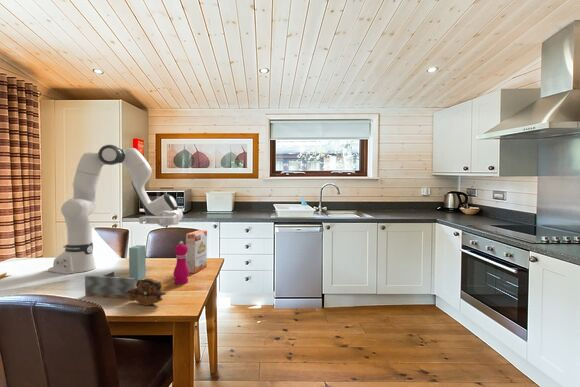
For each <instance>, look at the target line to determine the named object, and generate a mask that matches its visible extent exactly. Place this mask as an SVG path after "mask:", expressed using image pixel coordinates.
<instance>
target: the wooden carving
mask: <svg viewBox="0 0 580 387" xmlns="http://www.w3.org/2000/svg"><path fill="white" fill-rule="evenodd" d="M136 286H137V288H133V289H131V290H129V291H127V293H128V296H129V298H130V299H129V301H130V302H135V301H136V302H137V303H138V304H140V305H142V306H144V305H145V306H149V305H153V304H157V303H160V302H161V301H163V300H164V299H163V298H162V296H165V295H167V293H166V292H165V291H162V283H161V281H158V280H157V279H154V278H151V277H150V278H149V277H148V278H145V279H144V278H143V279H140V280H138V281H137V284H136Z"/></svg>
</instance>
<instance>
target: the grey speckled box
mask: <svg viewBox="0 0 580 387" xmlns="http://www.w3.org/2000/svg"><path fill="white" fill-rule="evenodd" d="M136 284H137V281H135V278H129V277H121V276H115V271H112V272H110V273H106V274H104V275H85V276H84V292H85V294H84V296H85V297H90V298H91V297H92V298H93V297H94V298H105V299H107V298H108V299H122V300H130V298H129V296H128V293H127V291H129V290H131V289H133V288H137V286H136Z"/></svg>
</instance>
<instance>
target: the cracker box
mask: <svg viewBox="0 0 580 387" xmlns="http://www.w3.org/2000/svg"><path fill="white" fill-rule="evenodd" d="M185 245H186V246H187V248H188V251H187V253H186V254H187V255H186V256H187V257H186V264H187V267H188V269H189V274H196V273H198V272H200V271H202V270H204V269H205V268H207V266H208V265H207V260H208V259H207V258H208V254H207V253H208V252H207V251H208V230H201V229H199V230H195V231H192V232H188V233H186V234H185Z"/></svg>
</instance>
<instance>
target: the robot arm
mask: <svg viewBox="0 0 580 387" xmlns="http://www.w3.org/2000/svg"><path fill="white" fill-rule="evenodd" d="M117 164H122V165H124V167H125V168H126V169H127V170H128V172H129V174H130V175H131V179H132V180H131V186H132V189H133V190H134V193H135V194H136V195H137V197H138V200H139V202H140V204H141V205H142V208H143V211H144V213H145V216H140V217H139V218H138V220H139V221H138V222H139V224H140V225H142V224H143V225H144V224H145V225H158V226H159V227H169V226H175V225H177V226H178V224H179V222H181V220H182V219H183V216H184V213H183V210H181V209H180V208H179V206H178V202H177V200H176V198H175V197H174V196H172V195H171V194H168V193H165V194H163V195H161V196H159V197H158V198H155V199H154V200H151V199H150V197H149V195H148V193H147V191H146V189H145V185H146V184H147V182H148V181H149V179H150V178H151V175H152V173H153V172H152V171H153V170H152V167H151V165H150V163H149V162H148V161H147V160H146V158H145V156H144V155H143V154H142V153H141V152H140V151H139V150H138V149H137V148H134V147H128V148H125V149H122V148H119V146H116V145H114V144H106V145H103V146H101V147H100V148H99V150H98V152H84V153H83V154H82V155H81V157H80V159H79V161H78V163H77V166H76V171H75V174H74V178H73V182H72V189H73V196H72V198H69V199H67V200H66V201H64V202H63V204H62V205H61V207H60V211H61V215H63V217H64V222H65V226H66V230H67V244H65V245H64V246H63V247H62V248H63V249H64V248H65V249H64V251H63V252H62V253H61V254H59V255H58V256H57V257H55V258H54V260H53V264H52V267H50V268H48V269H47V272H50V273H58V274H64V275H68V274H69V275H70V274H73V273H74V274H75V273H82V272H84V273H85V272H88V271H89V272H90V271H92V270H94V269H96V264H95V260H94V255H93V254H94V252H93V249H94V243H93V235H92V234H93V233H92V231H93V229H92V226H91V225H90V224H91V223H90V220H89V219H90V218H89V216H90V215H92V214H93V213H94V211H95V210H96V200H97V198H96V197H97V196H96V194H97V188H98V184H99V178H100V175H101V171H102V168H103V166H106V165H108V166H113V165H117Z"/></svg>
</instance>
